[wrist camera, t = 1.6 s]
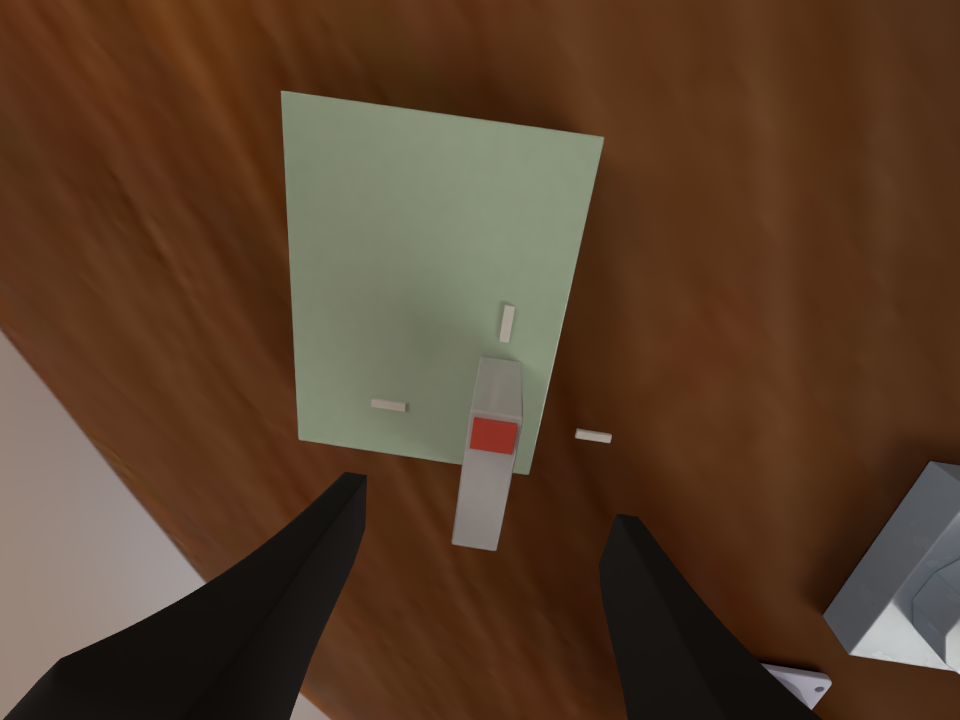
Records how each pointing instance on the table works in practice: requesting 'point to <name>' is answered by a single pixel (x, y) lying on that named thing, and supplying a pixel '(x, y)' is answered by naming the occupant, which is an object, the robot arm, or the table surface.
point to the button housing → (908, 581)
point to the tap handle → (489, 453)
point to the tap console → (425, 267)
